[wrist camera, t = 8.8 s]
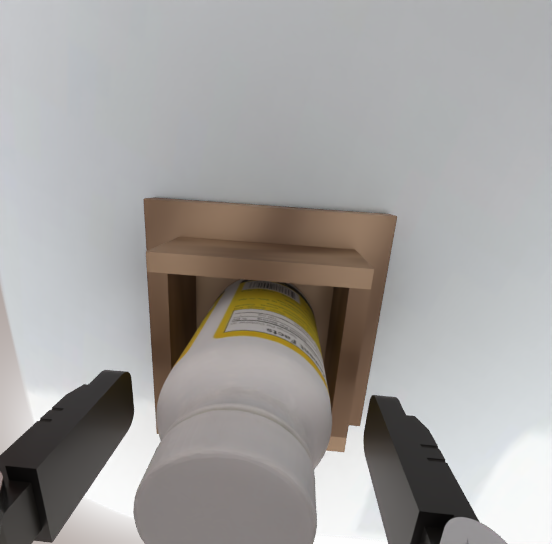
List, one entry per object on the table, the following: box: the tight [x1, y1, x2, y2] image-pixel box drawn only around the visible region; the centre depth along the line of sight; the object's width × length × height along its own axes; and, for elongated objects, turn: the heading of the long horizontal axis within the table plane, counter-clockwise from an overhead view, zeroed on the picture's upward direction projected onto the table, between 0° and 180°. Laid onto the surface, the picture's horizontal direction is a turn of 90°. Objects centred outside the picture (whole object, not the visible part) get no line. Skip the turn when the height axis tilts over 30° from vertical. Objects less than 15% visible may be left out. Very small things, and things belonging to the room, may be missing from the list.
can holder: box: [144, 198, 397, 452], centre depth 15 cm, size 12×12×5 cm
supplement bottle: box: [134, 279, 332, 544], centre depth 11 cm, size 5×5×10 cm
